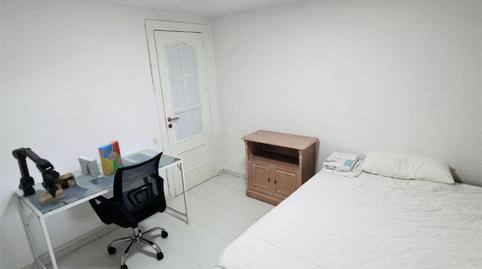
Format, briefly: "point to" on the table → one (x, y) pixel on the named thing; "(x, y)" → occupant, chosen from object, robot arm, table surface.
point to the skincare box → (89, 166)
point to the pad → (54, 200)
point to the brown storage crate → (67, 180)
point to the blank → (50, 196)
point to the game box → (110, 157)
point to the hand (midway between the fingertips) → (52, 195)
